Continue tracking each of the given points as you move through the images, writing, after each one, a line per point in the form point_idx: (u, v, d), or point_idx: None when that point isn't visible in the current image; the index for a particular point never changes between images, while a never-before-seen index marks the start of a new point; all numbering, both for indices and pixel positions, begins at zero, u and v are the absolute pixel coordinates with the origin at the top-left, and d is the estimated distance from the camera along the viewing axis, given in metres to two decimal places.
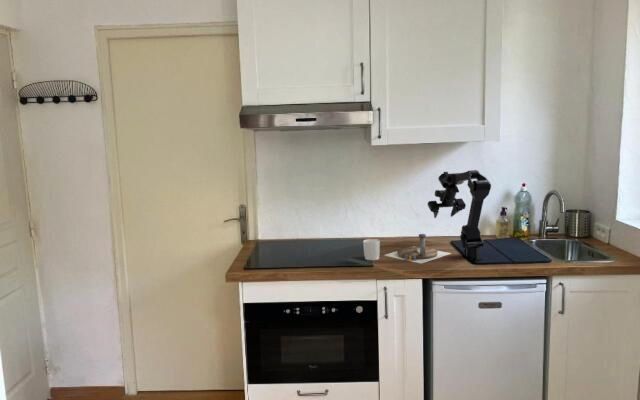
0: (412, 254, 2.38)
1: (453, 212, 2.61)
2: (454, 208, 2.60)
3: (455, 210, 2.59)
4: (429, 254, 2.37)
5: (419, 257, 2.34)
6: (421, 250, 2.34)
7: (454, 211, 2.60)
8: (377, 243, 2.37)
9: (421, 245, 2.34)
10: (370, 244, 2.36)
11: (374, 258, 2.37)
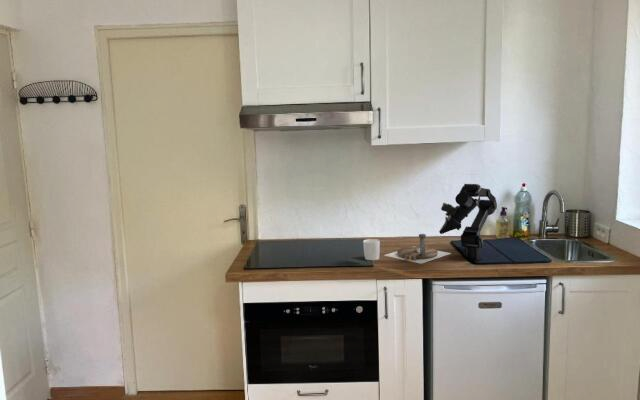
0: (412, 254, 2.38)
1: None
2: None
3: None
4: (429, 254, 2.37)
5: (419, 257, 2.34)
6: (421, 250, 2.34)
7: None
8: (377, 243, 2.37)
9: (421, 245, 2.34)
10: (370, 244, 2.36)
11: (374, 258, 2.37)
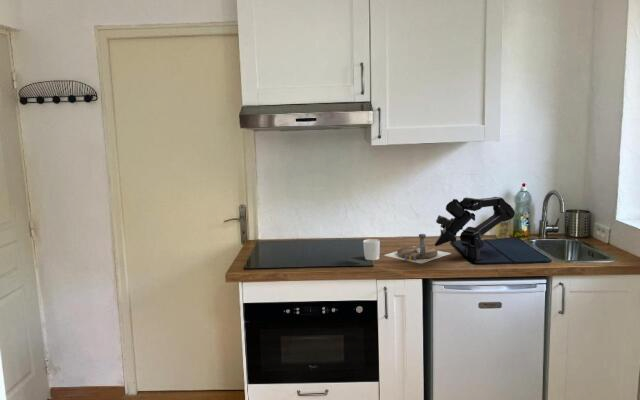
0: (412, 254, 2.38)
1: None
2: None
3: None
4: (429, 254, 2.37)
5: (419, 257, 2.34)
6: (421, 250, 2.34)
7: None
8: (377, 243, 2.37)
9: (421, 245, 2.34)
10: (370, 244, 2.36)
11: (374, 258, 2.37)
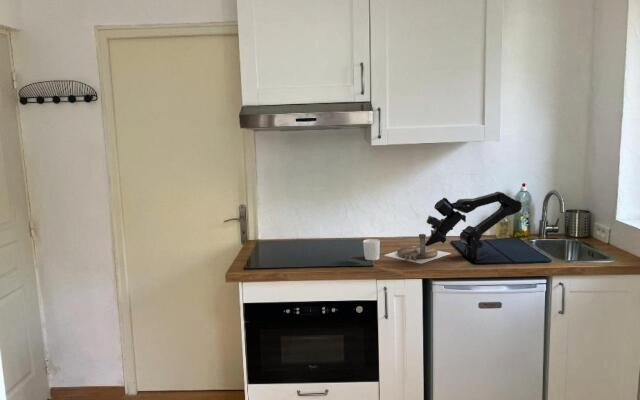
0: (412, 254, 2.38)
1: None
2: None
3: None
4: (429, 254, 2.37)
5: (419, 257, 2.34)
6: (421, 250, 2.34)
7: None
8: (377, 243, 2.37)
9: (421, 245, 2.34)
10: (370, 244, 2.36)
11: (374, 258, 2.37)
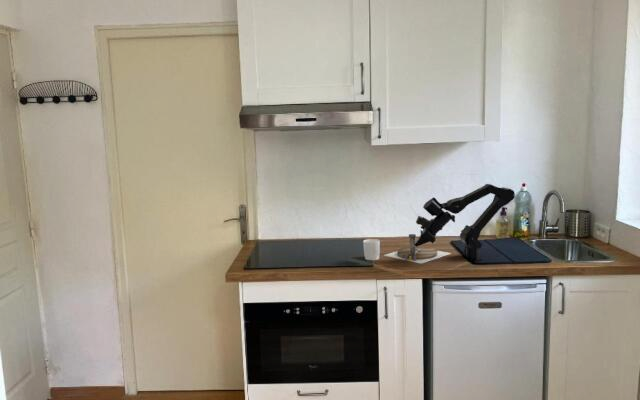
0: (406, 253, 2.41)
1: None
2: None
3: None
4: (420, 255, 2.35)
5: None
6: (410, 250, 2.35)
7: None
8: (377, 243, 2.37)
9: (410, 245, 2.35)
10: (370, 244, 2.36)
11: (374, 258, 2.37)
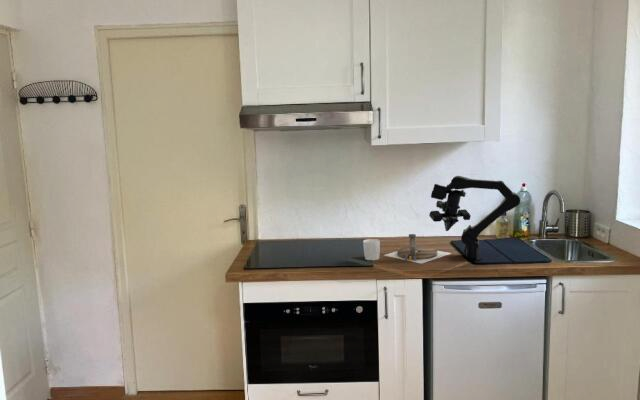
0: (406, 253, 2.41)
1: (449, 225, 2.40)
2: (450, 220, 2.39)
3: (451, 222, 2.38)
4: (420, 255, 2.35)
5: None
6: (410, 250, 2.35)
7: (450, 223, 2.39)
8: (377, 243, 2.37)
9: (410, 245, 2.35)
10: (370, 244, 2.36)
11: (374, 258, 2.37)
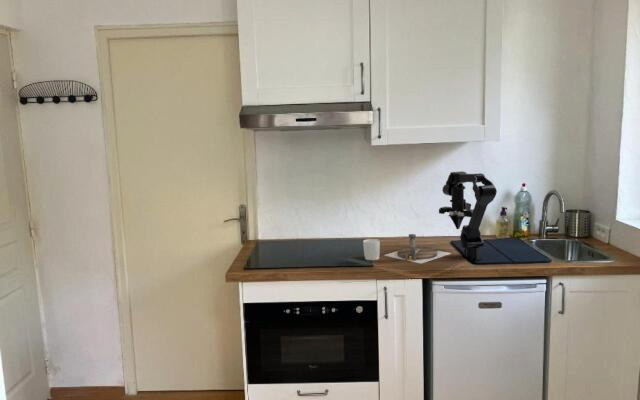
0: (406, 253, 2.41)
1: None
2: None
3: None
4: (420, 255, 2.35)
5: None
6: (410, 250, 2.35)
7: None
8: (377, 243, 2.37)
9: (410, 245, 2.35)
10: (370, 244, 2.36)
11: (374, 258, 2.37)
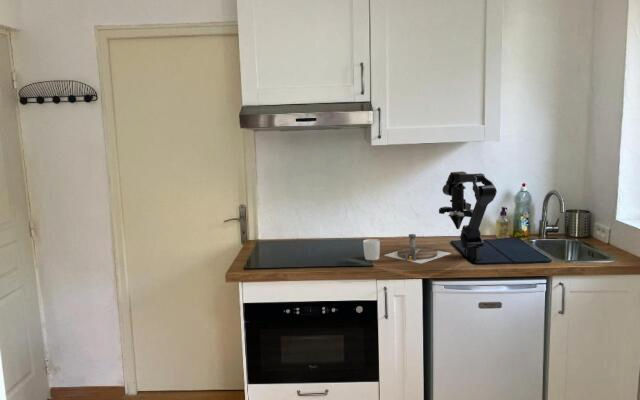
0: (406, 253, 2.41)
1: None
2: None
3: None
4: (420, 255, 2.35)
5: None
6: (410, 250, 2.35)
7: None
8: (377, 243, 2.37)
9: (410, 245, 2.35)
10: (370, 244, 2.36)
11: (374, 258, 2.37)
